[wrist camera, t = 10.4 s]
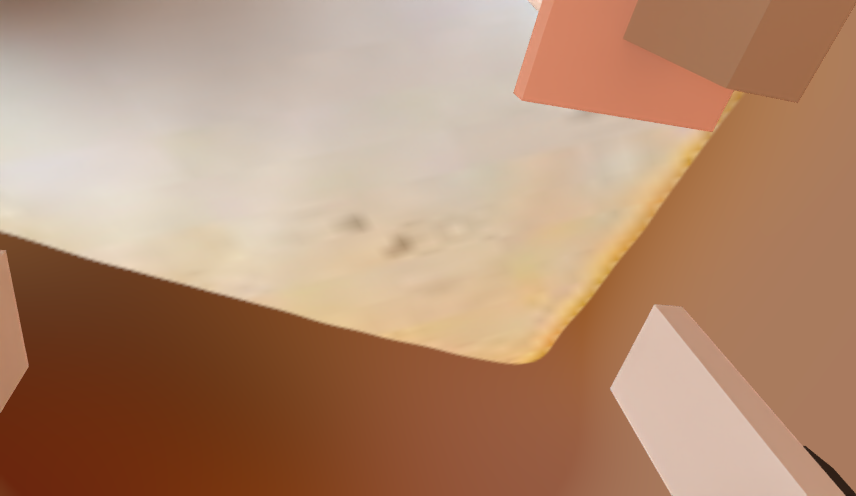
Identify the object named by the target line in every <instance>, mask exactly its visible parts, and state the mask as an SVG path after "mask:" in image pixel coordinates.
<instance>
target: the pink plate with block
mask: <svg viewBox="0 0 856 496" xmlns="http://www.w3.org/2000/svg"><path fill="white" fill-rule="evenodd" d="M855 4H856V0H542V4H541V7H540V10H539V13H538V16H537V19H536V23H535V26H534V29H533V32H532V35H531V38H530V42H529V45H528V48H527V51H526V54H525V58H524V61H523V64H522V67H521V70H520V73H519V77H518V80H517V83H516V86H515V89H514V92H513V93H514V94H515V95H516V96H517V97H518V98H520V99H521V100H522V101H528V102H534V103H540V104H546V105H552V106H558V107H564V108H570V109H576V110H583V111H589V112H595V113H601V114H607V115H613V116H619V117H625V118H631V119H637V120H643V121H649V122H655V123H661V124H667V125H673V126H679V127H685V128H692V129H698V130H704V131H710V132H712V131H713V129H714V128H715V126H716V124H717V122H718V120H719V118H720V116H721V114H722V112H723V110H724V108H725V106H726V104H727V102H728V101H729V99H730V97H731V95H732V93H733V91H734V90H736V91H741V92H746V93H751V94H756V95H761V96H766V97H771V98H776V99H781V100H786V101H791V102H796V103H798V102H799V100H800V98H801V97H802V95H803V93H804V91H805V90H806V88H807V86H808V85H809V83H810V81H811V79H812V78H813V76H814V74H815V73H816V71H817V69H818V67H819V66H820V64H821V62H822V61H823V59H824V57H825V55H826V54H827V52H828V50H829V49H830V47H831V45H832V43H833V41H834V40H835V38H836V37H837V35H838V33H839V32H840V30H841V28H842V26H843V25H844V23H845V21H846V20H847V18H848V16H849V14H850V13H851V11H852V9H853V7H854V6H855Z"/></svg>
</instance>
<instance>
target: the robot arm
mask: <svg viewBox="0 0 856 496" xmlns="http://www.w3.org/2000/svg"><path fill="white" fill-rule="evenodd" d="M28 366H29V365H28V361H27V355H26V350H25V345H24V341H23V335H22V330H21V325H20V321H19V315H18V310H17V305H16V300H15V295H14V290H13V285H12V280H11V274H10V270H9V264H8V259H7V254H6V250H0V412H1V411H2V409H3V407H4V406H5V404H6V402H7V401H8V399H9V398H10V396H11V394H12V393H13V391H14V389H15V388H16V386H17V384H18V383H19V381H20V380H21V378H22V376H23V375H24V373H25V371H26V369H27V368H28ZM610 390H611V391H612V393H613V395H614V397H615V398H616V400H617V402H618V403H619V405H620V407H621V409H622V410H623V412H624V414H625V416H626V417H627V419H628V421H629V423H630V424H631V426H632V427H633V429H634V431H635V433H636V435H637V436H638V438H639V440H640V442H641V443H642V445H643V447H644V448H645V450H646V452H647V454H648V455H649V457H650V459H651V461H652V462H653V464H654V466H655V468H656V469H657V471H658V473H659V475H660V476H661V478H662V479H663V481H664V483H665V485H666V487H667V488H668V490H669V492H670V494H671V495H672V496H856V494H855V493H854V491H853V490H852V489H851V488H850V487H849V486H848V485H847V484H846V482H845V481H844V480H843V479H842V478H841V477H840V475H839V474H838V473H837V472H836V471H835V470H834V469H833V468H832V467H831V466H830V465H828V464H827V463H826V462H825V461H823V460H822V459H821V458H820V457H818V456H817V455H816V454H814V453H813V452H812V451H811V450H810V449H808V448H807V447H806V446H802V445H801V444H800V442H799V441H798V440H797V439H796V438H795V437H794V435H793V434H792V433H791V432H790V431H789V430H788V428H786V426H785V425H784V424H783V423H782V421H781V420H780V419H779V418H778V417H777V416H776V415H775V413H774V412H773V411H772V410H771V409H770V408H769V406H768V405H767V404H766V403H765V402H764V401H763V400H762V398H761V397H760V396H759V395H758V394H757V392H756V391H755V390H754V389H753V388H752V387H751V386H750V384H749V383H748V382H747V381H746V380H745V379H744V378H743V376H742V375H741V374H740V373H739V372H738V370H737V369H736V368H735V367H734V366H733V365H732V364H731V362H730V361H729V360H728V359H727V358H726V357H725V355H724V354H723V353H722V352H721V351H720V350H719V348H718V347H717V346H716V345H715V344H714V343H713V342H712V340H711V339H710V338H709V337H708V336H707V335H706V333H705V332H704V331H703V330H702V329H701V328H700V326H699V325H698V324H697V323H696V322H695V321H694V319H692V317H691V316H690V315H689V314H688V313H687V311H686V310H685V309H684V308H683V307H680V306H668V305H656V304H655V305H654V306H653V308H652V310H651V312H650V314H649V316H648V318H647V320H646V321H645V323H644V325H643V327H642V329H641V331H640V333H639V335H638V337H637V338H636V340H635V343H634V344H633V346H632V348H631V350H630V352H629V354H628V356H627V357H626V359H625V361H624V363H623V365H622V367H621V369H620V371H619V373H618V374H617V376H616V379H615V380H614V382H613V384H612V386H611V388H610Z"/></svg>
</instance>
